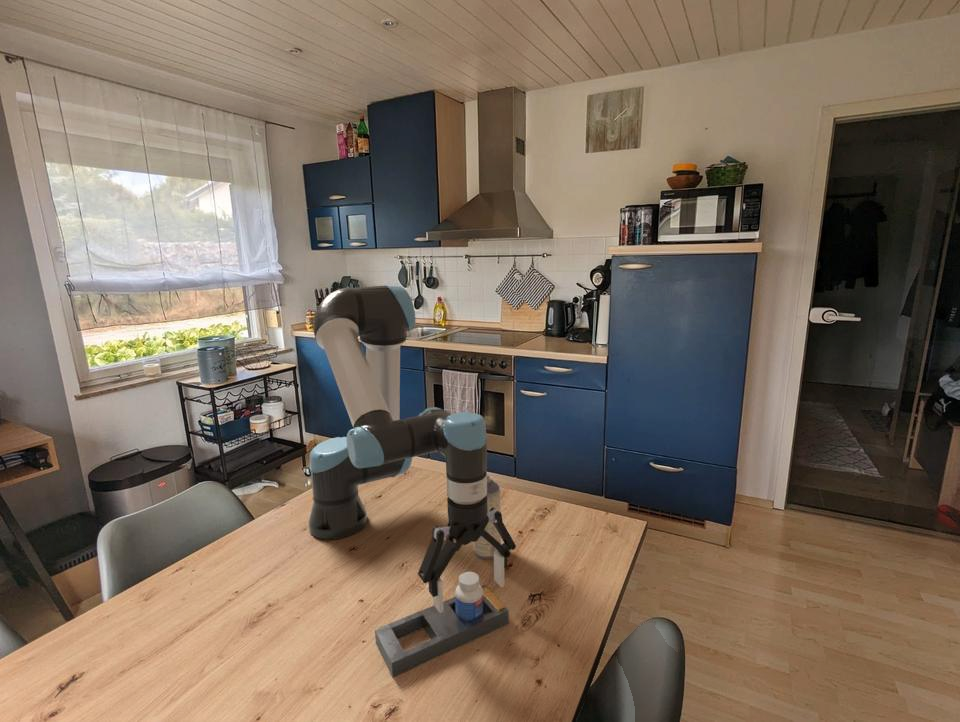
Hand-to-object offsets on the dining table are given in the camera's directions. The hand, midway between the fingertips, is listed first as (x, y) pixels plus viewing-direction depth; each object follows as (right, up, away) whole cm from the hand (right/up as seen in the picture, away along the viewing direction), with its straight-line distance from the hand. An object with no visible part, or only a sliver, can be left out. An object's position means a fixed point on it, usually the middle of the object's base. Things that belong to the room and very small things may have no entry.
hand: (469, 595), depth 95 cm
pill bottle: (0, -6, +1) cm, 6 cm away
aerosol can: (+4, -1, +24) cm, 25 cm away
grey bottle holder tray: (-5, -6, -2) cm, 8 cm away
